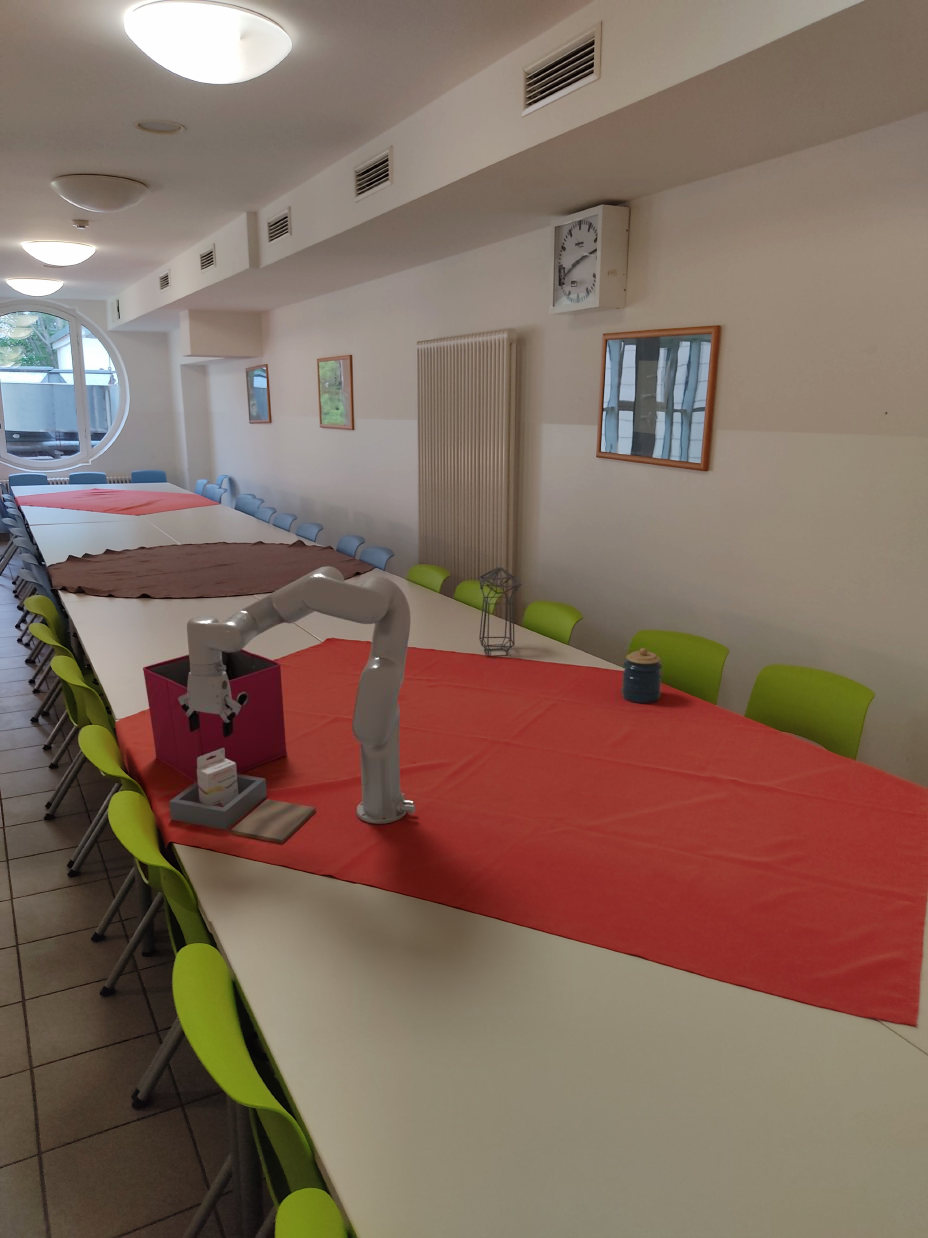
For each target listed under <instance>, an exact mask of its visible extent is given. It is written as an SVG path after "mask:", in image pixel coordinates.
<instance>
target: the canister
mask: <svg viewBox="0 0 928 1238" xmlns="http://www.w3.org/2000/svg"><path fill="white" fill-rule="evenodd" d="M625 658H626V659H625V660H624V661H623V662H622V665H623V667H624V669H623V670H622V687H621V695H622V697H623V699H625V700H627V701H628V702H631V703H638V704H651V703H652V704H653V703H655V702H658V701H659V700H660V697H661V694H662V693H661V686H662V685H661V684H662V677H663V675H662V673H661V670H662V668H663V665H662V663H661V658H660V656H658V655H657V654H656V653H654V652H651V651H648V649H647V648H645V647H641V648H640V649H639V650H635V651H632V652H631V653H629V654H626V656H625Z"/></svg>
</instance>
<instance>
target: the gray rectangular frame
mask: <svg viewBox="0 0 928 1238" xmlns="http://www.w3.org/2000/svg"><path fill="white" fill-rule="evenodd" d="M266 782H267V781H266V778H263V777H257V776H252V775H251V776H250V775H246V774H241V773H239V774H237V784H238V796H237V797H236V798H234V799H233V800H232V801H231V802H229V803H228V804H227V805H226V806H224V807H217V806H212V805H207V804H201V803H200V800H199V789H198V781H197V782H195V783H194V782H193V783H192V784H191V785H190V786H189V787H187V788H186V789H184V790H183V791H181V792H180V793H179V794H177V795H176V796H174V797H173V798H172V799H170V800H169V802H168V804H169V812H170V820H172V821H178V822H182V823H187V824H191V825H197V826H202V827H208V828H213V829H218V830H223V831H227V830H229V829H230V828H231V827H232V826H233V825H234V824H236V823H237V822H238V821H240V819H242V817H244V816H245V815H246V814H247V813H248V812H250V811H251V810H252V809H253V808H254V807H256V806H257V805H258V804H259V803H261V802H263V800H264V799H265V798H266V797H267V796H268V795H267V783H266Z"/></svg>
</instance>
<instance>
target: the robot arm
mask: <svg viewBox="0 0 928 1238" xmlns="http://www.w3.org/2000/svg"><path fill="white" fill-rule="evenodd" d="M314 612H317V613H320V614H322V615H326V616H329V617H332V618H337V619H341V620H345V621H349V622H352V623H353V622H354V623H357V624H361V625H373V624H374V626H373V627H374V628H373V632H372V638H371V640H372V641H371V647H370V651H369V655H368V659H367V662H366V664H365V666H364V668H363V669H362V670H363V671H362V672H361V675H360V677H359V681H358V685H357V689H356V690H357V691H356V697H355V702H354V709H353V711H354V712H353V716H352V723H351V724H352V725H351V729H352V733H353V736H354V737H355V740H357V741H358V742H359V743H360V771H361V772H360V773H361V776H360V777H361V797H362V799H361V800H362V801H361V802H360V803H358V805H357V807H356V815H357V818H359V819H360V820H362V821H363V822H366V823H369V824H374V825H375V824H376V825H377V824H383V825H384V824H390V823H393V822H396V821H398V820H401V819H402V818H404V816H406V814H407V813H410V814H415V812H416V806H415V801H414V800H406V798H405V793H404V792H401V773H400V772H401V768H400V767H401V765H400V764H401V763H400V762H401V761H400V724H401V723H400V722H401V721H400V720H401V717H400V716H401V714H400V713H401V712H400V705H399V703H398V702H399V695H400V690H401V688H402V684H403V682H404V677H405V667H406V658H407V654H408V653H407V651H408V648H409V647H408V645H409V639H410V630H411V609H410V605H409V602H408V599H407V597H406V595H405V593H404V592H403V590H402V589H401V588H400V587H399V585H397V584H396V583H395V582H394V581H393V580H391V579H389V578H388V577H384V576H379V575H377V576H372V577H369V578H367V579H365V580H364V581H363V582H362V583H361V584H360V585H357V584H353V583H350V582H346V581H345V578H344V575H343V573H342V572H341V571H340V570H338V568H336V567H333V566H328V565H327V566H322V567H319V568H317V569H315V570H313V571H311V572H309V573H307V574H305V575H303V576H301V577H299V578H298V579H296V580H294V581H291V582H290V583H289V584H287V585H284V586H283V587H280V588H279V589H277V590H275V591H274V592H271V593H270V594H269V595H267V596H265V597H263V598H261V599H259V600H257V601H255V602H253V603H251V604H250V605H248V606H245V607H243V608H242V609H240V610H238V611H237V612H235V613H233V614H232V615H231V616H229V617H228V618H227V619H225V620H223V621H221V622H220V621H219V619H218V618H217V617H215V616H209V615H201V616H195V617H192V618H190V619H189V620H188V621H187V623H186V635H187V646H188V654H189V660H190V672H189V675H188V684H187V693H186V694H184V695H182V696H180V697H178V700H179V702H180V704H181V705H182V709H183V710H184V711H185V712H186V716H188V718H189V727H190V732H193V731H195V730H197V729H198V728H200V722H199V714H198V713H196V712H197V711H198V712H204V713H211V714H219V715H220V716H221V717H222V719H223V720H224V721H225V722H223V737H225V738H227V737H228V736H230V735H231V734H233V719H234V718H235V717H236V716H237V715H238V712H239V710H240V708H241V705H240V704H239V703H237V702H236V701H234V700H233V699H232V696H231V689H230V684H229V680H228V677H227V674H226V672H225V670H226V665H223V662H222V651H223V652H229V653H234V652H238V651H240V650H241V649H243V650H244V648H245V647H246V646H247V645H248V644H249V643H250V642H251V641H252V640H253V639H255V638H256V637H257V636H259V635H260V634H263V633H264V632H266V631H268V630H270V629H272V628H274V627H276V626H278V625H281V624H285V623H286V624H288V625H289V624H294V623H296V622H298V621H300V620H301V619H303V618H305V617H307V616H310V614H312V613H314ZM187 699H188V703H187ZM230 708H233V710H232V712H231V710H230ZM223 709H224V710H223ZM224 712H226V714H227V715H228V716H227V715H226V714H225V713H224Z"/></svg>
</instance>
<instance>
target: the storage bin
mask: <svg viewBox="0 0 928 1238" xmlns="http://www.w3.org/2000/svg"><path fill="white" fill-rule="evenodd" d="M222 662H223V665H226V670H225V672H226V674H227V677H228V680H229V684H230V689H231V696H232V699H233V700H234V701H236V702H237V703H239V704H240V705H241V708H240V710H239V712H238V715H237V716H236V717H235V718H234V719H233V734H231V735H230V736H228V737H227V738H225V737H223V722H225V721H224V720H223V719H222V717H221V716H220V715H219V714H211V713H204V712H198V711H197V712H196V713H198V714H199V722H200V728H198V729H197V730H195V731H193V732H190V727H189V718H188V716H186V712H185V711H184V710H183V709H182V705H181V704H180V702H179V700H178V697H180V696H182V695H184V694H186V693H187V684H188V675H189V672H190V660H189V653H188V654H185V655H182V656H179V657H175V658H172V659H171V658H170V659H168V660H164V661H160V662H157V663H154V664H153V663H152V664H150V665H147V666H143V667H142V671H143V677H144V678H143V679H144V681H145V682H144V684H145V689H146V696H147V703H148V707H149V715H150V723H151V729H152V735H153V743H154V750H155V751H154V752H155V759H156V760H159V761H160V762H162V763H164V764H165V765H167V766H169V768H172V769H173V770H175V771H177V772H178V773H179V774H180V775H182V776H184V777H185V778H187V779H188V780H190V781H191V782H193V784H194V783H195V782H197V781H198V778H197V758H198V757H200V756H203V755H206V754H208V753H211V752H214V751H217V750H219V749H222V748H224V749H225V758H226V759H228V760H230V761H233V762H235V763H236V770H237V774H241V773H243V772H246V771H248V770H251V769H254V768H256V767H260V766H261V765H264V764H267V763H271V762H273V761H275V760H278V759H280V758H282V757H283V758H284V757H285V756H288V751H287V745H286V744H287V743H286V742H287V741H286V727H285V717H284V716H285V715H284V714H285V713H284V699H283V685H282V670H281V669H282V668H281V663H279V661H275V660H273V659H270V658H267V657H265V656H262V655H260V654H257V653H253V652H250V651H247V650H245V649H244V648H243V649H241V650H240V651H238V652H234V653H229V652H223V651H222ZM187 703H188V699H187ZM223 710H224V709H223ZM230 710H231V712H232V710H233V708H230ZM224 713H225V714H226V712H224ZM226 715H227V714H226ZM227 716H228V715H227ZM215 757H216V755H214V756H210V757H209V758H207V759H206V760H209V759H212V758H215Z"/></svg>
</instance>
